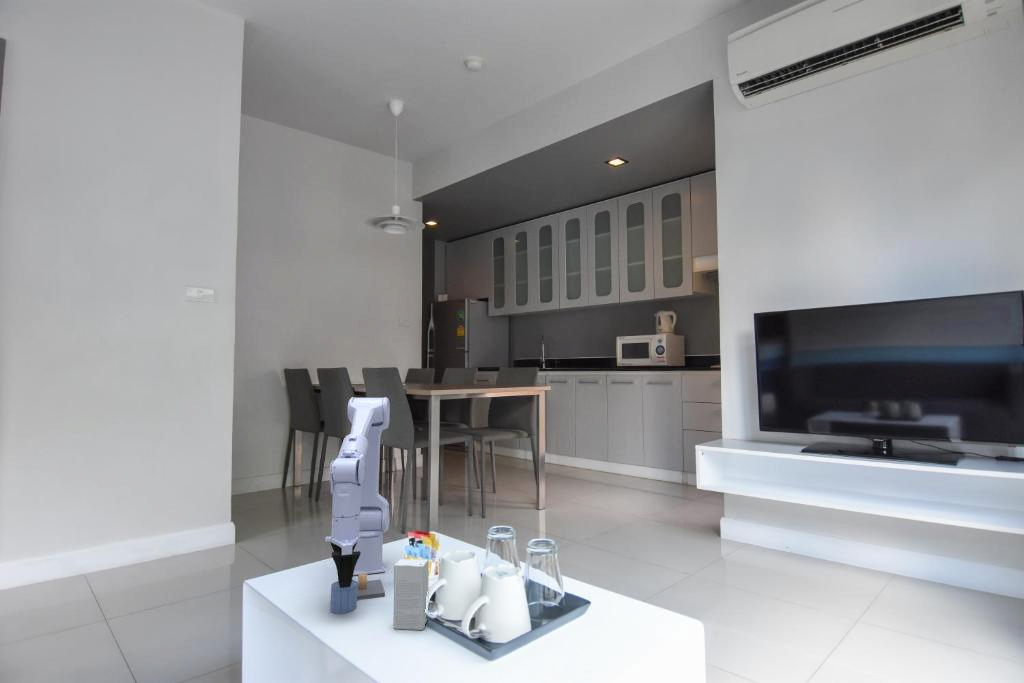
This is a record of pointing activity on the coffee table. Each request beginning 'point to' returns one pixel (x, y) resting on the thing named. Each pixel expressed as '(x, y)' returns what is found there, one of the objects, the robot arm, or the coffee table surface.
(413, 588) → the skincare box
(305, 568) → the coffee table surface
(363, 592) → the plate
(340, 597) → the cap
